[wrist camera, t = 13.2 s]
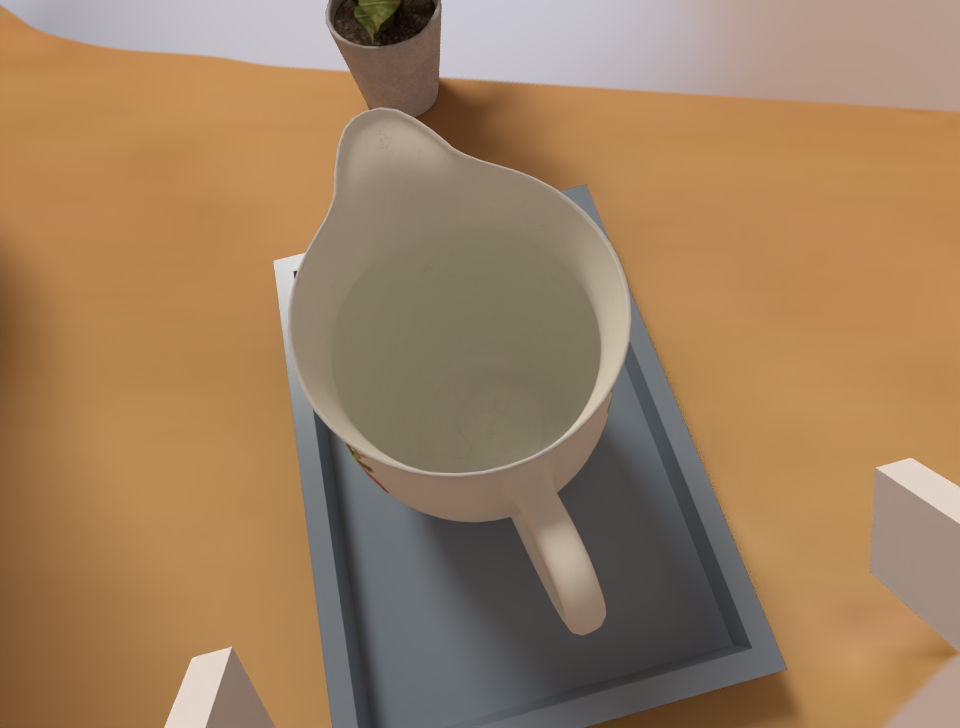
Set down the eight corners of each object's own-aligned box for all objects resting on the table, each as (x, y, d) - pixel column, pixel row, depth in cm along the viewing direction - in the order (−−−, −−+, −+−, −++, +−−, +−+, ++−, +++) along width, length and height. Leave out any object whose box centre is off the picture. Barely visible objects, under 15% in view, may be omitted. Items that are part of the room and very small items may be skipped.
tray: (293, 288, 34) (273, 260, 31) (580, 217, 35) (586, 184, 32) (360, 775, 24) (341, 797, 22) (757, 661, 25) (787, 669, 22)
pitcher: (458, 676, 25) (399, 760, 12) (333, 339, 32) (211, 166, 19) (677, 569, 26) (832, 544, 13) (512, 266, 33) (511, 56, 20)
